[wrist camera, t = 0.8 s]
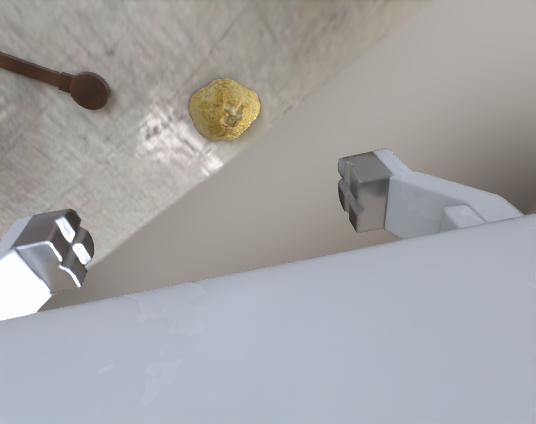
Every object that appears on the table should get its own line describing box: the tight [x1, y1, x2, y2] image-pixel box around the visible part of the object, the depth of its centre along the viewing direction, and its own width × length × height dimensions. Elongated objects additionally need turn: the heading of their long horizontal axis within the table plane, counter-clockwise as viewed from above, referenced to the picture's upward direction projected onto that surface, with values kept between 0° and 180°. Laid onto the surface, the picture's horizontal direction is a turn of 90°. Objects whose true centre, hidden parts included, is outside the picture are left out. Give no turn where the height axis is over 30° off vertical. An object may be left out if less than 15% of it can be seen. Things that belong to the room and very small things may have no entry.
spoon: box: [0, 52, 110, 110], centre depth 48 cm, size 19×5×2 cm, turn 66°
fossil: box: [189, 78, 260, 141], centre depth 55 cm, size 11×6×10 cm
